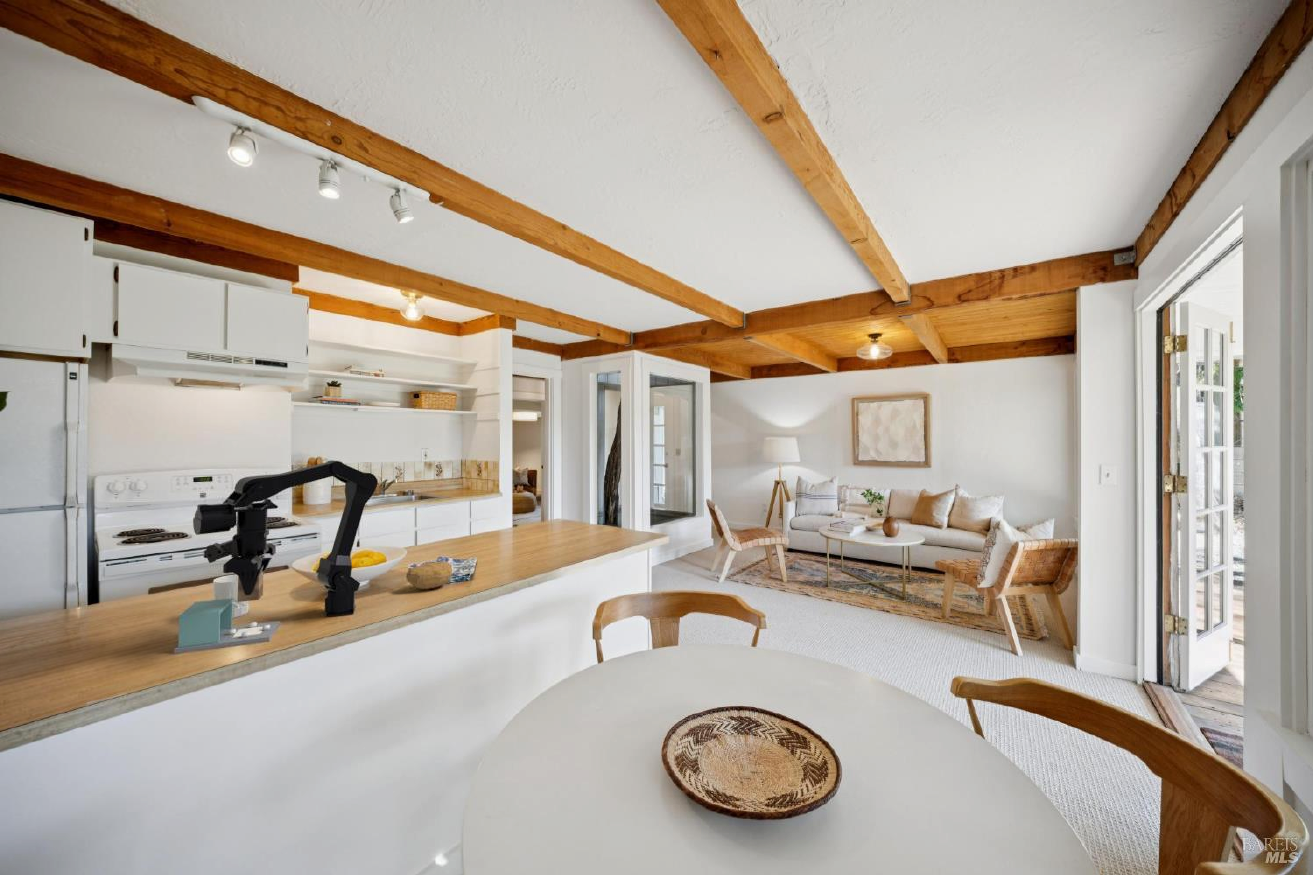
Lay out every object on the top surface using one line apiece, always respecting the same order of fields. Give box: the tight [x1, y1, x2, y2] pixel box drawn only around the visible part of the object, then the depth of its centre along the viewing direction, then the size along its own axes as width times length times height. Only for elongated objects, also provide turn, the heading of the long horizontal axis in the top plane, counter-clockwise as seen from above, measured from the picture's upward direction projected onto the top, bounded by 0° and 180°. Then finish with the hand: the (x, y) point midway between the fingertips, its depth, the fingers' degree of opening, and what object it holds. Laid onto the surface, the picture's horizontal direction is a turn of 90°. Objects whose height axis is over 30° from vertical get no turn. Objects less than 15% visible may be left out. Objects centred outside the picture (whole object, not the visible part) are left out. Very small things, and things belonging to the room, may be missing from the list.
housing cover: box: [177, 598, 233, 648], centre depth 116 cm, size 7×10×7 cm
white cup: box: [212, 574, 250, 619], centre depth 133 cm, size 8×8×10 cm
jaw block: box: [238, 571, 264, 602], centre depth 120 cm, size 4×4×6 cm
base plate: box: [173, 620, 281, 655], centre depth 118 cm, size 17×11×2 cm, turn 117°
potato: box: [405, 561, 453, 590], centre depth 160 cm, size 10×14×8 cm
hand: (250, 592), depth 120 cm, fingers closed on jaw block, 4 cm apart
